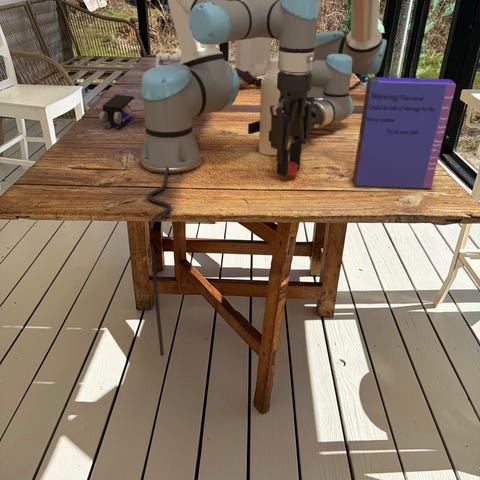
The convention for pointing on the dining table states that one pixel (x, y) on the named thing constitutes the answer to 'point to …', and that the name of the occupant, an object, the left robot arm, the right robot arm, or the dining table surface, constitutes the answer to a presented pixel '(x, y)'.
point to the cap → (292, 168)
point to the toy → (168, 57)
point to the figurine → (247, 79)
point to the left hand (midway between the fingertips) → (288, 171)
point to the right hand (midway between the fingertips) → (259, 132)
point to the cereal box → (402, 131)
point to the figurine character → (116, 110)
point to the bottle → (268, 107)
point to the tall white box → (253, 55)
